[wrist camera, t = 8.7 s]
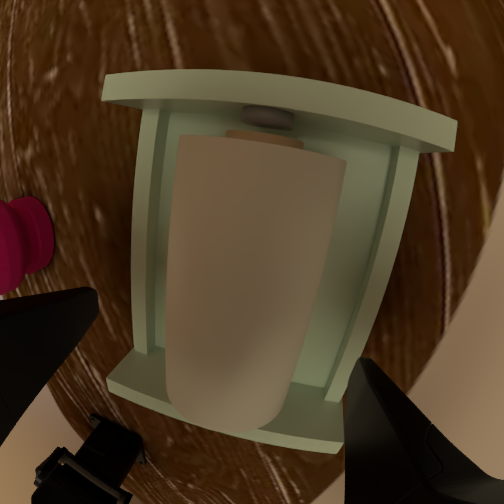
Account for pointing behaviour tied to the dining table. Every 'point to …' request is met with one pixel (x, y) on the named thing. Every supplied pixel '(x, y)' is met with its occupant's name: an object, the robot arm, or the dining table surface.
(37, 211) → the pepper mill
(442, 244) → the dining table surface
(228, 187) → the kitchen roll
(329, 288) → the roll cradle
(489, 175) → the dining table surface
